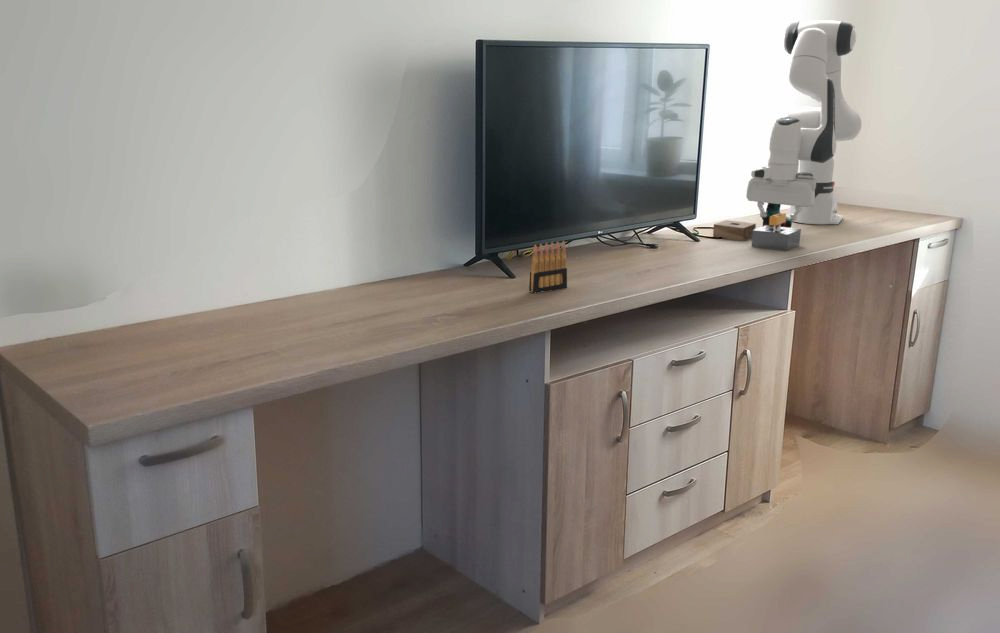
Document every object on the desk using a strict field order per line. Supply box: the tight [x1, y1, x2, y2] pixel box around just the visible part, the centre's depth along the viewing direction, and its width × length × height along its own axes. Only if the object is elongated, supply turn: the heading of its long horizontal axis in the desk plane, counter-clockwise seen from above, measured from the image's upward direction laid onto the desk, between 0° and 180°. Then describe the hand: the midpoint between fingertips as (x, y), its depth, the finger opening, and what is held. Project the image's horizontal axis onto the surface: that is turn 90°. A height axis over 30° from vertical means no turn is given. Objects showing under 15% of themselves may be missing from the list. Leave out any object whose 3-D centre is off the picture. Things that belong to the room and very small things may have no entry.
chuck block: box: [751, 225, 802, 252], centre depth 291 cm, size 11×11×5 cm
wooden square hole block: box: [712, 219, 757, 241], centre depth 305 cm, size 10×10×4 cm
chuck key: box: [769, 212, 787, 231], centre depth 291 cm, size 8×2×10 cm, turn 144°
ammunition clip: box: [528, 240, 568, 294], centre depth 234 cm, size 11×2×12 cm, turn 126°
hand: (778, 218), depth 290 cm, fingers open, 8 cm apart
